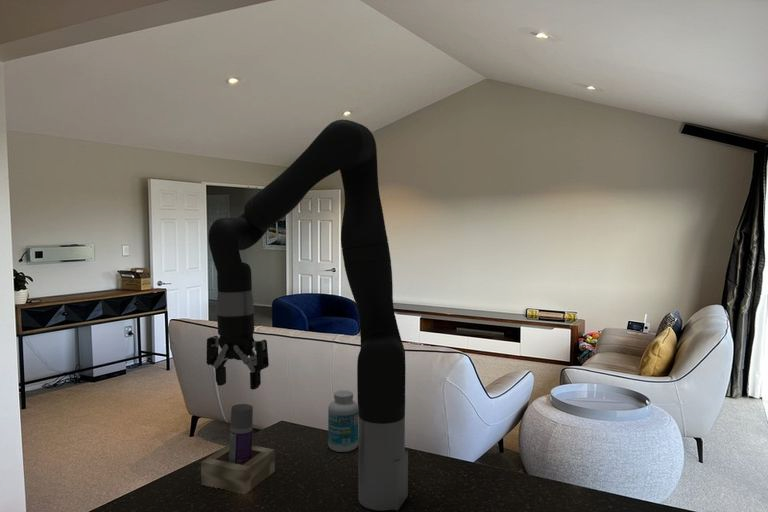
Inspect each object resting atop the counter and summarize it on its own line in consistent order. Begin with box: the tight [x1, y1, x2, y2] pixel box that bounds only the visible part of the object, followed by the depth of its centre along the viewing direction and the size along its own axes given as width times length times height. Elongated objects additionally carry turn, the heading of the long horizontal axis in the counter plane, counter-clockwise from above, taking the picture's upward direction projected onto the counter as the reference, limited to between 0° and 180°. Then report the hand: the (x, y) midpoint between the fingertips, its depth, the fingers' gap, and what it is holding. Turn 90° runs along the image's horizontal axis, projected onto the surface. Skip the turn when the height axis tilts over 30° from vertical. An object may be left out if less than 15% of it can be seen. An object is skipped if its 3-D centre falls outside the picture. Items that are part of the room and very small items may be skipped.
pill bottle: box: [327, 390, 359, 453], centre depth 134 cm, size 8×7×14 cm
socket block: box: [200, 444, 276, 495], centre depth 118 cm, size 11×11×5 cm
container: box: [228, 403, 254, 465], centre depth 118 cm, size 5×5×15 cm
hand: (238, 386), depth 117 cm, fingers open, 8 cm apart
